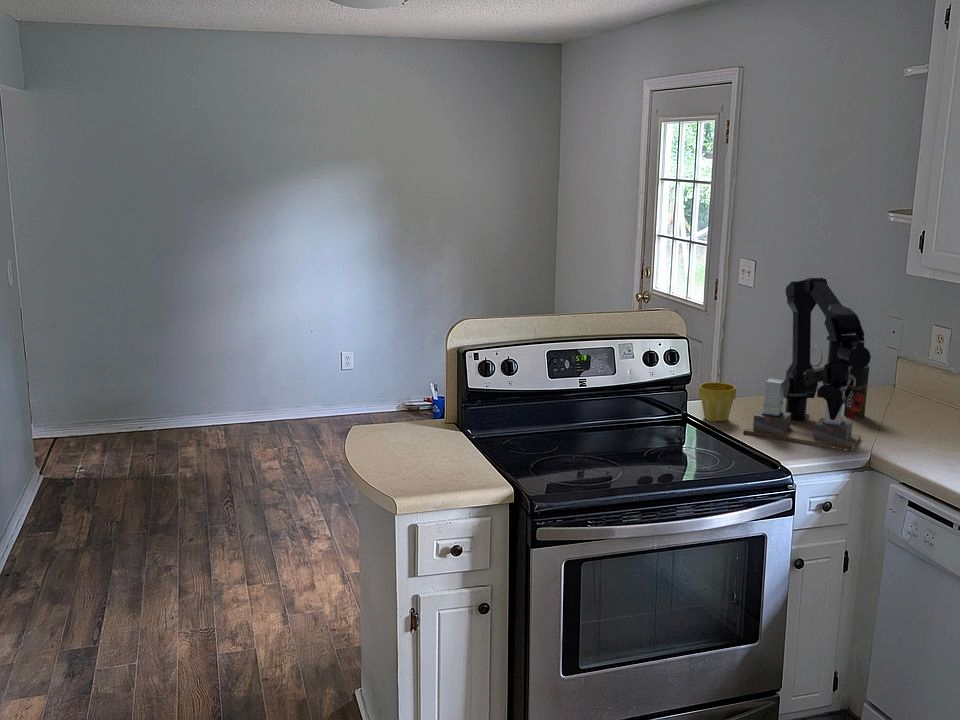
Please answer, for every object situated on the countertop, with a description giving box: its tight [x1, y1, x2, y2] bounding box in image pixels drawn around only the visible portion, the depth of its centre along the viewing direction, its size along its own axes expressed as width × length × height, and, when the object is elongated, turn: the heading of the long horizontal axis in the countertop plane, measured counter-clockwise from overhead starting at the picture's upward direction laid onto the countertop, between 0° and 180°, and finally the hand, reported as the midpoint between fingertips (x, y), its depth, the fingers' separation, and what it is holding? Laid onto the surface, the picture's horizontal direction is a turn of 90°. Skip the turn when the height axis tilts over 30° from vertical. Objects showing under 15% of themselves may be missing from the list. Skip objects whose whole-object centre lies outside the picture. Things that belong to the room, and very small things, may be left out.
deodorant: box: [844, 365, 870, 419], centre depth 269 cm, size 6×6×15 cm
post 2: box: [824, 402, 845, 427], centre depth 245 cm, size 4×4×9 cm
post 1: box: [763, 378, 785, 416], centre depth 253 cm, size 4×4×9 cm
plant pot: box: [698, 381, 737, 422], centre depth 266 cm, size 10×10×10 cm
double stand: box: [742, 408, 861, 451], centre depth 250 cm, size 12×28×5 cm, turn 58°
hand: (834, 417), depth 245 cm, fingers closed on post 2, 4 cm apart
